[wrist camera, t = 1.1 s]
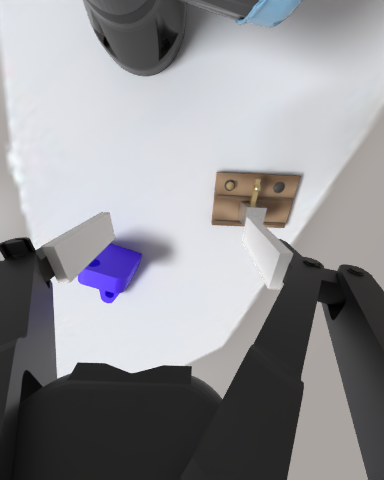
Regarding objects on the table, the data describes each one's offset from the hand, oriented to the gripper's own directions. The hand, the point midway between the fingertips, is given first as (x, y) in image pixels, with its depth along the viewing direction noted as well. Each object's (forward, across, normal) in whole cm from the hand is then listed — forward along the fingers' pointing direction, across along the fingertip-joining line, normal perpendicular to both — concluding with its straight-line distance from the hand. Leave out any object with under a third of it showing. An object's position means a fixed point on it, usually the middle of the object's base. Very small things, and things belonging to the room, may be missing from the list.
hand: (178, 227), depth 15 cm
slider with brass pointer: (+22, +14, -2) cm, 27 cm away
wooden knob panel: (+24, +15, -3) cm, 29 cm away
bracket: (+24, -21, -25) cm, 41 cm away
